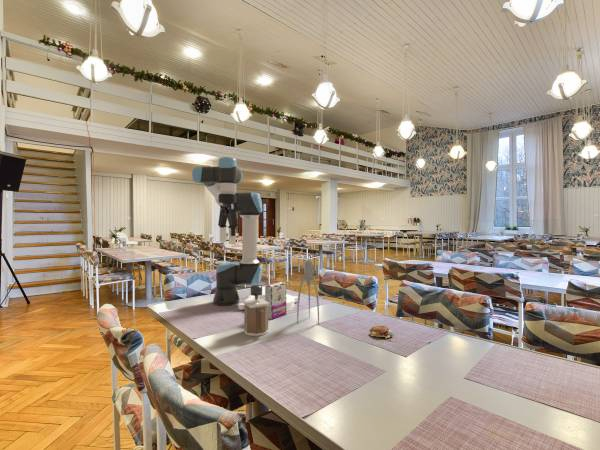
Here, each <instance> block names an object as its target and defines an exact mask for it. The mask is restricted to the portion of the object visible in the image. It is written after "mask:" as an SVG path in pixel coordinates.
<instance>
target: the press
mask: <svg viewBox="0 0 600 450" xmlns="http://www.w3.org/2000/svg"><path fill="white" fill-rule="evenodd" d="M242 303H244V304H245V305H244V309H243V310H244V311H243V312H244V315H243V316H244V317H243V318H244V322H243V323H244V325H243V327H244V329H243V331H244V332H243V333H244V335H246V336H249V337H261V336H264V335H267V334H268V333H269V319H268V306H269V305H270V303H269V302H267V301H265V300H263V299H258V303H255V300H248V301H245V300H243V302H242Z"/></svg>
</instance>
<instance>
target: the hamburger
mask: <svg viewBox="0 0 600 450" xmlns="http://www.w3.org/2000/svg"><path fill="white" fill-rule="evenodd" d="M369 332H370V336H372V337H375V338H379V337H385V339H386V340H388V339H387V338H389V339H390V337H392V336H393V335H394V333H392V330H391V329H390V328H389V327H388V326H386V325H382V324H380V325H379V324H378V325H375V326H372V327H371V328H370V329H369ZM388 342H391V341H390V340H388Z"/></svg>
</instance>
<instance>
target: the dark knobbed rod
mask: <svg viewBox="0 0 600 450" xmlns="http://www.w3.org/2000/svg"><path fill="white" fill-rule="evenodd" d="M262 293H263V285H261V284H257V285H250V295H253V296H255V303H258V296H259V295H262Z"/></svg>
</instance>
